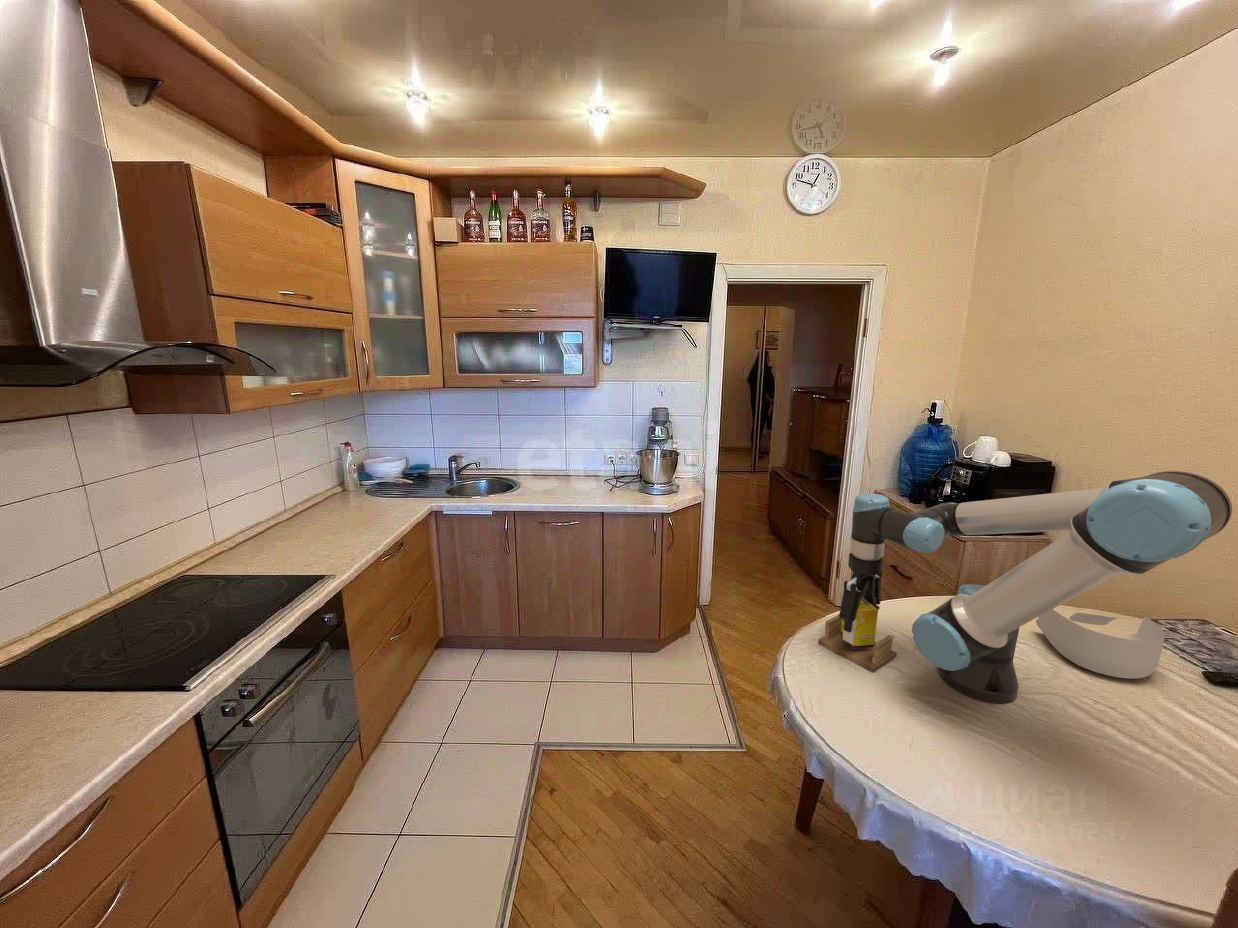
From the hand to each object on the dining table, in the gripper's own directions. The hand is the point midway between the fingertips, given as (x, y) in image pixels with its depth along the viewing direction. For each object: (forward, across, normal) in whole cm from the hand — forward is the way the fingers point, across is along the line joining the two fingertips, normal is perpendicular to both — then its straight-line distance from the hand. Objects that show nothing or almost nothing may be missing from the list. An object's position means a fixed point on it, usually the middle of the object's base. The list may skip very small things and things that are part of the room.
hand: (857, 635), depth 124 cm
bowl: (+4, -44, +37) cm, 58 cm away
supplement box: (+2, 0, 0) cm, 2 cm away
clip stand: (+4, 0, 0) cm, 4 cm away
